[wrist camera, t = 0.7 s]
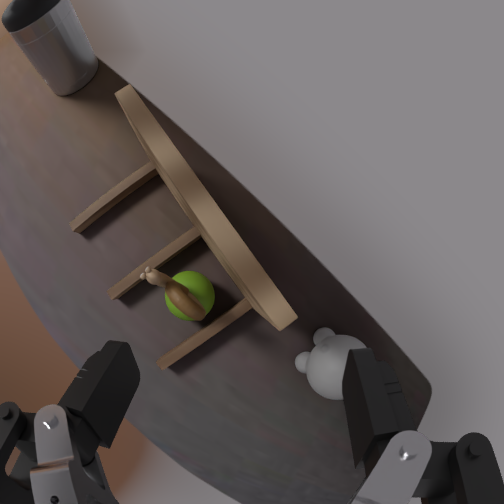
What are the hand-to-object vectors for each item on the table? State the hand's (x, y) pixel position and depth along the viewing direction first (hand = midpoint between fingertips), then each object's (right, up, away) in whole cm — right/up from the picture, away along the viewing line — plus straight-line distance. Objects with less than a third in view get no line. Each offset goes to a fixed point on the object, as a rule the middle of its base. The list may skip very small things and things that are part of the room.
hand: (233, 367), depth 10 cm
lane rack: (-11, +3, +24) cm, 26 cm away
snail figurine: (-7, -1, +24) cm, 25 cm away
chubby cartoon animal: (+12, -11, +25) cm, 30 cm away
